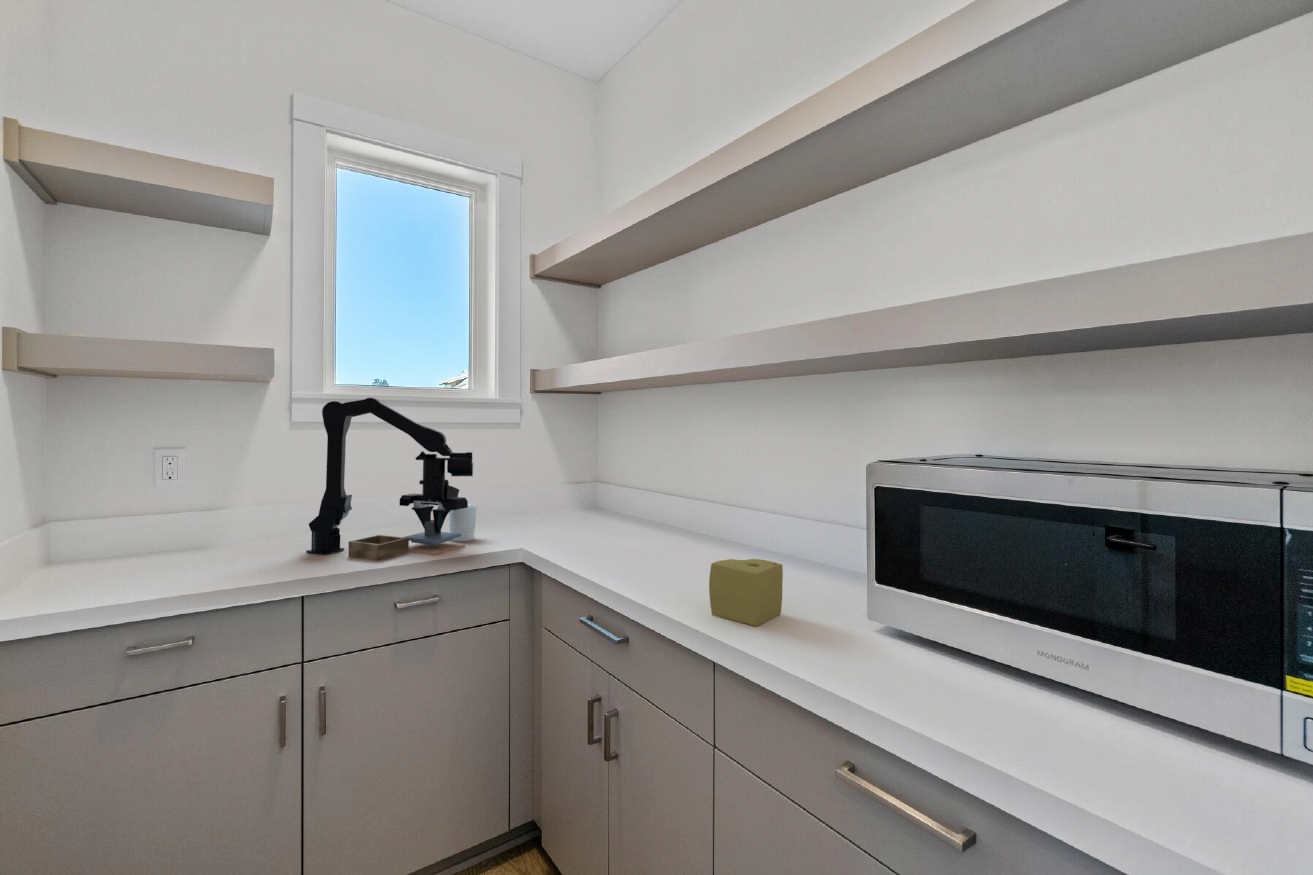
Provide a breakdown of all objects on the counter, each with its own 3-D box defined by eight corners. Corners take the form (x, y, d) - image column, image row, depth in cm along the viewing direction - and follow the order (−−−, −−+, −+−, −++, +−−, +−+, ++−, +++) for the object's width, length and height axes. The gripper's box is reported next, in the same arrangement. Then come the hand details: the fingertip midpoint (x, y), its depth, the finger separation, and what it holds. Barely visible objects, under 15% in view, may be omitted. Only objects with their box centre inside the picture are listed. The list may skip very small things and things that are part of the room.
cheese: (736, 603, 118) (737, 554, 118) (785, 615, 111) (786, 563, 111) (707, 615, 110) (708, 562, 110) (757, 629, 103) (759, 573, 103)
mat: (399, 550, 157) (399, 548, 157) (430, 542, 168) (430, 540, 168) (435, 555, 153) (435, 552, 153) (464, 546, 164) (464, 544, 164)
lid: (403, 542, 157) (403, 522, 157) (430, 536, 167) (430, 516, 167) (435, 546, 154) (435, 525, 154) (461, 539, 164) (461, 519, 164)
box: (348, 557, 149) (348, 541, 148) (378, 549, 158) (379, 534, 158) (379, 560, 145) (379, 545, 145) (408, 552, 155) (408, 537, 155)
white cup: (470, 542, 170) (471, 508, 170) (444, 541, 170) (444, 507, 170) (479, 537, 178) (480, 504, 178) (454, 536, 178) (454, 504, 178)
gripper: (480, 476, 165) (479, 530, 165) (426, 472, 171) (425, 525, 171) (454, 479, 154) (453, 537, 155) (398, 475, 160) (397, 531, 161)
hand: (432, 532), depth 161 cm, fingers closed on lid, 3 cm apart
